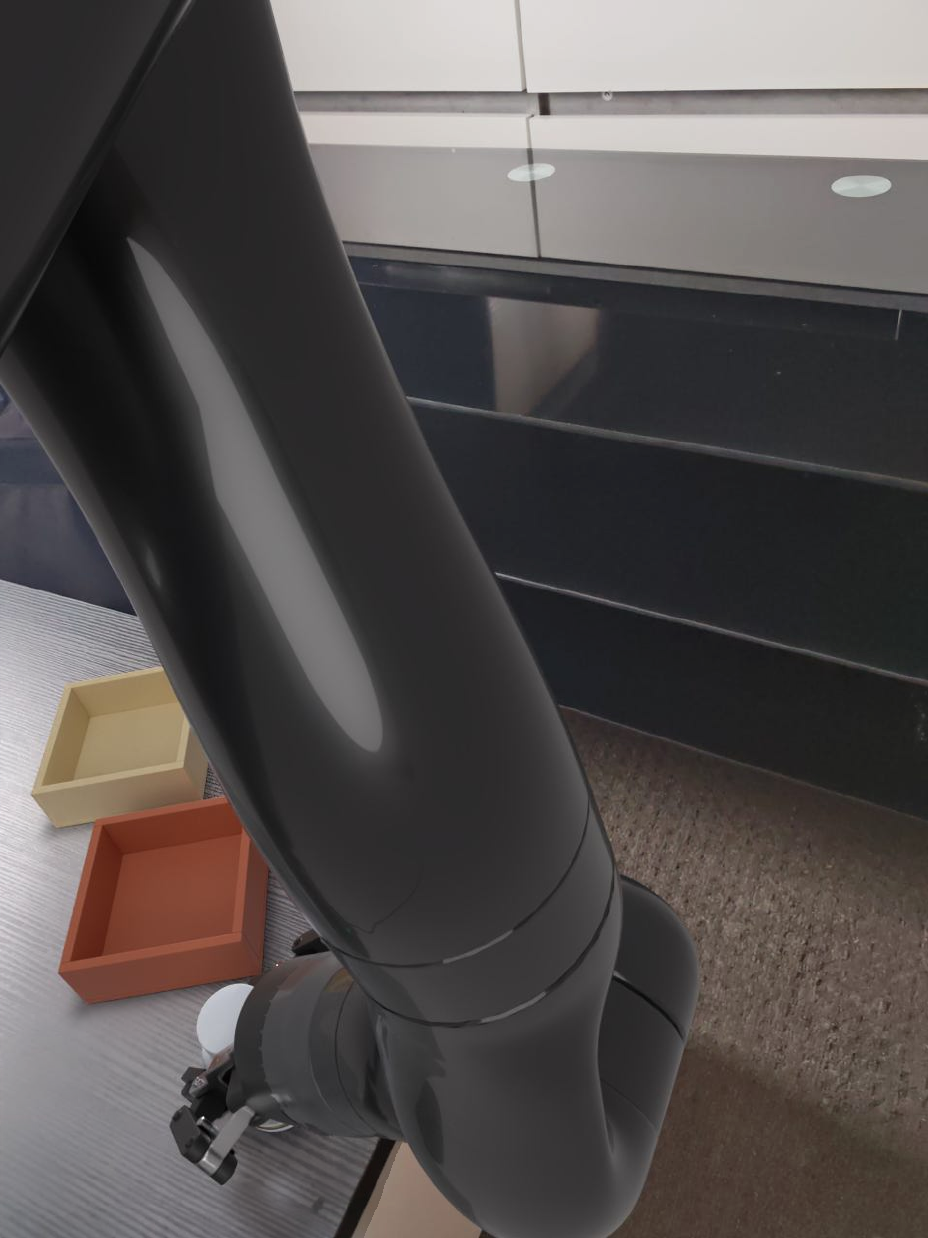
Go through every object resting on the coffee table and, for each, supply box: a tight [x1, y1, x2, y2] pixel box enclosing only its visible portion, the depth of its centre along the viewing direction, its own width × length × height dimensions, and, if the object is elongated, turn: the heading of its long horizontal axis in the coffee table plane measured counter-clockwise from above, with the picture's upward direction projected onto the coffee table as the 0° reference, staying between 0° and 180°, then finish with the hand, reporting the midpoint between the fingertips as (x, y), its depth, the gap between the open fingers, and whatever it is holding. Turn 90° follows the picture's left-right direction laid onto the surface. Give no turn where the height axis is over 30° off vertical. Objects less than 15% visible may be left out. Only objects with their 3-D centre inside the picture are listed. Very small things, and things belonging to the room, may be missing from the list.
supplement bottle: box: [196, 983, 294, 1133], centre depth 54 cm, size 5×5×10 cm
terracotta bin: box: [57, 795, 270, 1005], centre depth 66 cm, size 12×12×5 cm
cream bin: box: [30, 665, 209, 829], centre depth 78 cm, size 12×12×5 cm
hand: (230, 1036), depth 54 cm, fingers closed on supplement bottle, 5 cm apart
